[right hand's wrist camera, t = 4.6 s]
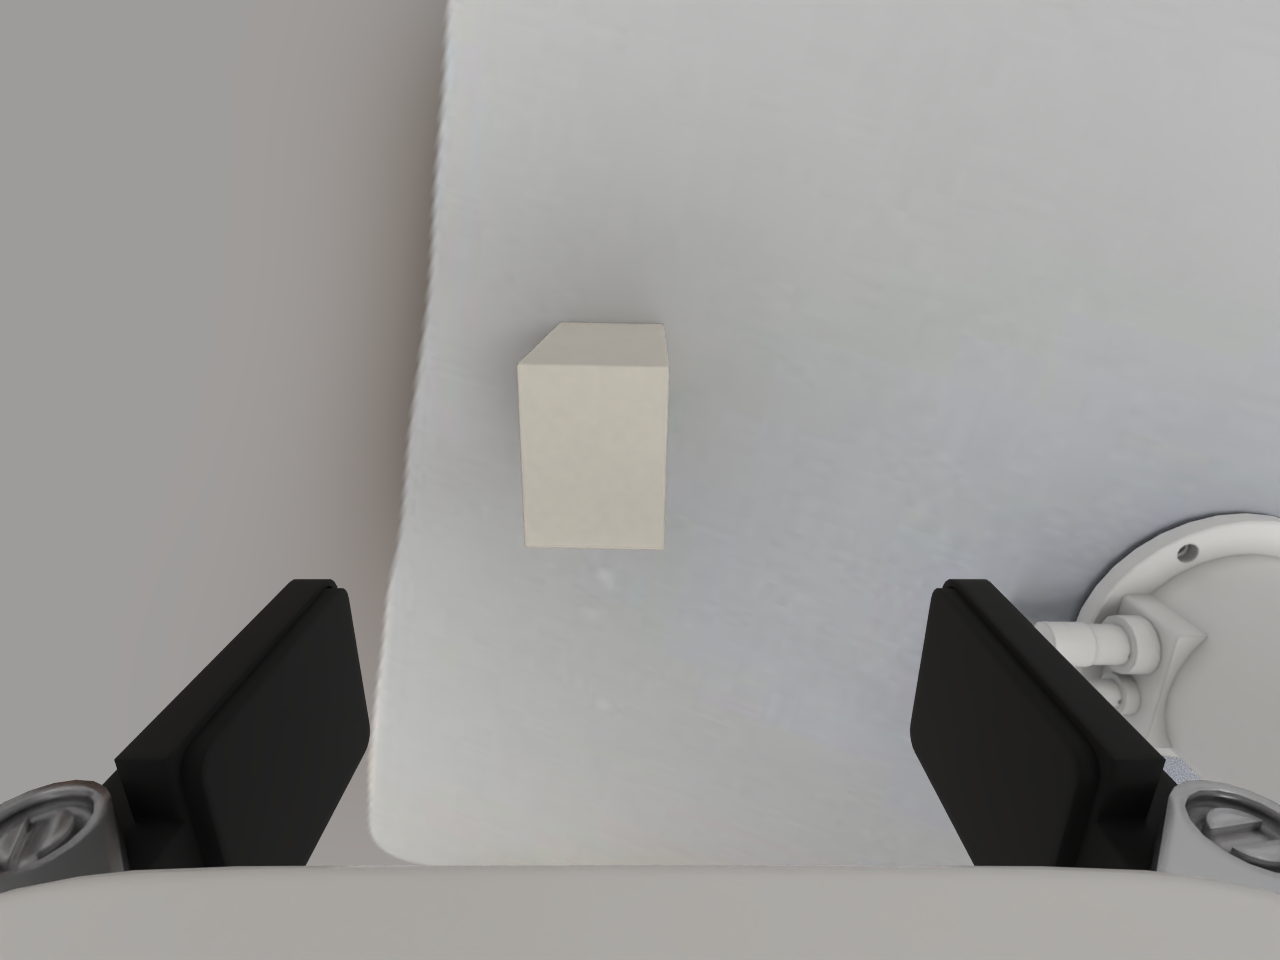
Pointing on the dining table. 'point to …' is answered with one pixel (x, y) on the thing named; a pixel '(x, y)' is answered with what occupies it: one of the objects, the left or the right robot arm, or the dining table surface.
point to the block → (595, 436)
